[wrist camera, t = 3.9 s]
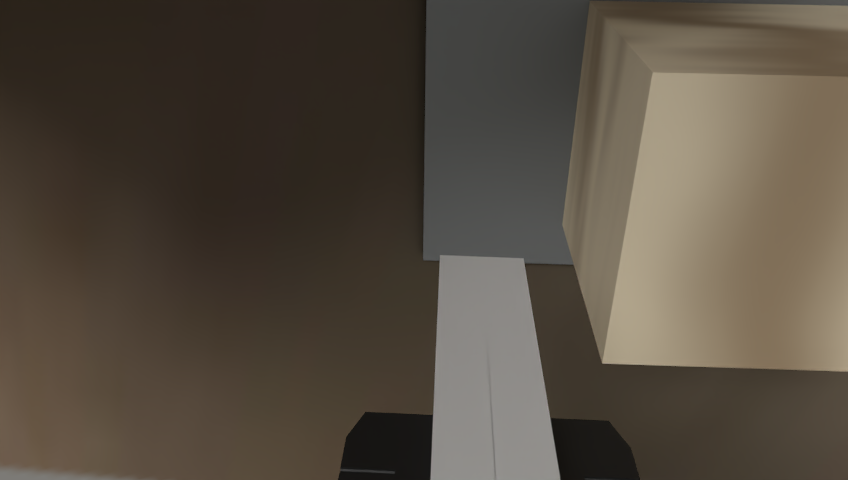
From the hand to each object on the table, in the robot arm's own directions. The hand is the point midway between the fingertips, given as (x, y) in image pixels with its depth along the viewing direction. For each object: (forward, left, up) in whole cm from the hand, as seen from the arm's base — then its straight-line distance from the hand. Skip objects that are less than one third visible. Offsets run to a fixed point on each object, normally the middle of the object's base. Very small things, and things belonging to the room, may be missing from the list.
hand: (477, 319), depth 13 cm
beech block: (+7, 0, -10) cm, 12 cm away
